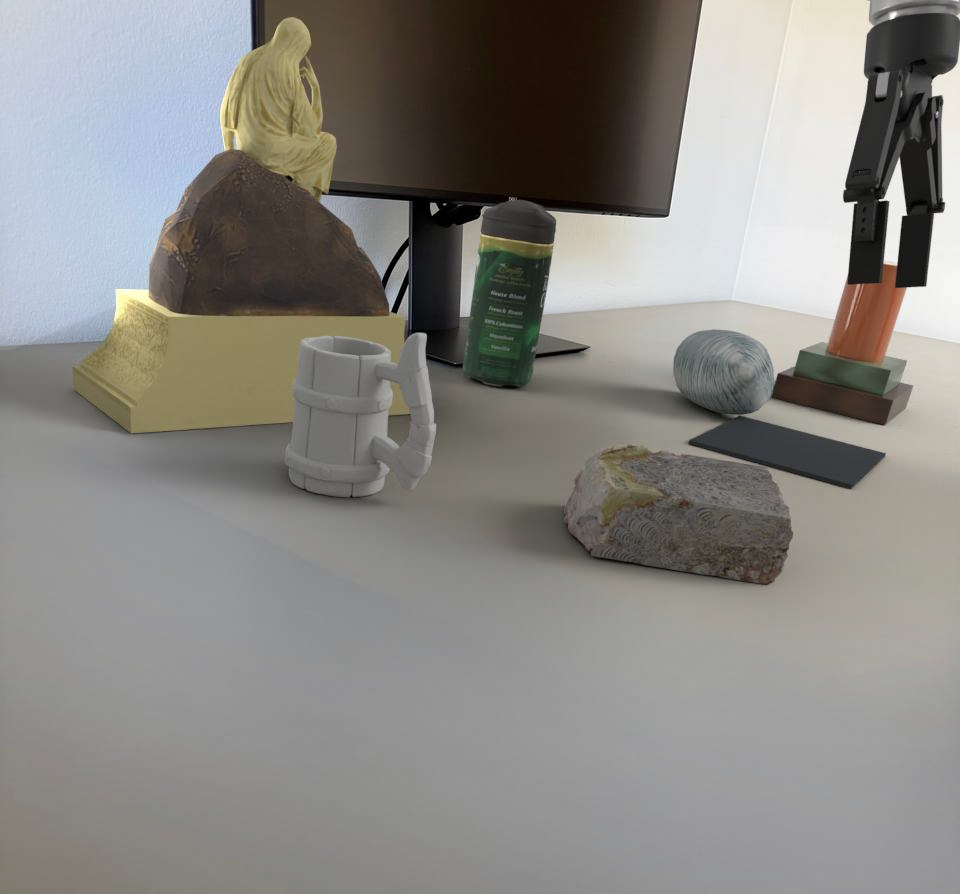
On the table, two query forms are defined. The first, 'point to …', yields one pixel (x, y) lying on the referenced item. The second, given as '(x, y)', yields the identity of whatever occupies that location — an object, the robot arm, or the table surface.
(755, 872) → the table surface
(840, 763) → the table surface
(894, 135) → the robot arm
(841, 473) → the mat
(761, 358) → the grey streaked ovoid
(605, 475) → the geological specimen
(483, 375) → the coffee jar
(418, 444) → the mug
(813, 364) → the stack
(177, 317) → the hooded thinker statue
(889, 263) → the canister
